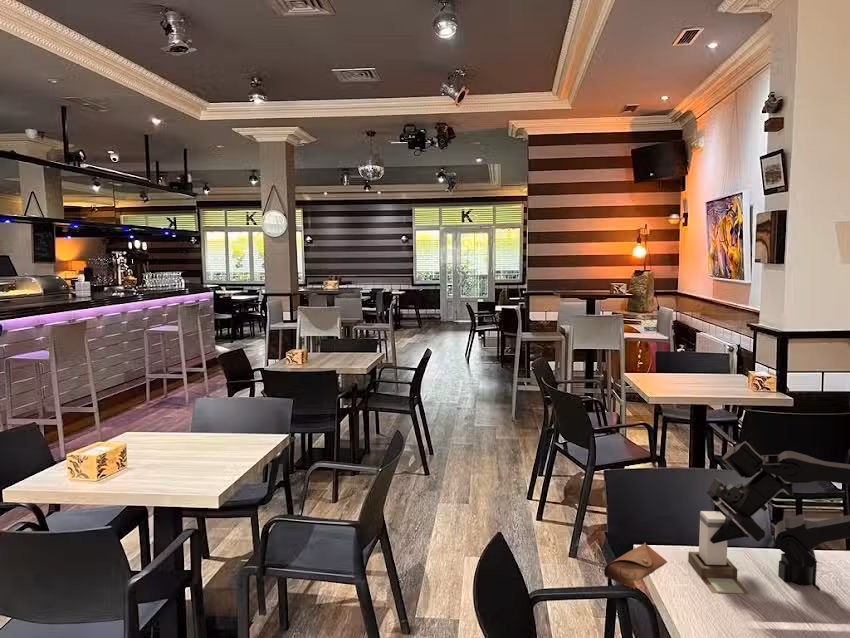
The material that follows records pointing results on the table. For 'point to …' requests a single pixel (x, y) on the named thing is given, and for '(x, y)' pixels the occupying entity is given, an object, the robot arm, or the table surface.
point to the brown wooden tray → (714, 571)
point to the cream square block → (708, 528)
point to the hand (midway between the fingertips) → (707, 537)
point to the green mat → (724, 585)
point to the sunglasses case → (634, 565)
